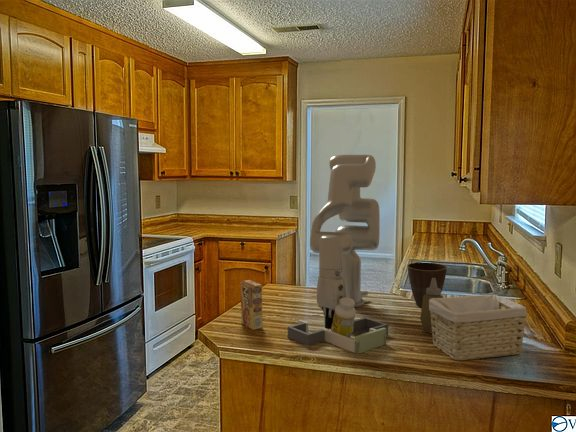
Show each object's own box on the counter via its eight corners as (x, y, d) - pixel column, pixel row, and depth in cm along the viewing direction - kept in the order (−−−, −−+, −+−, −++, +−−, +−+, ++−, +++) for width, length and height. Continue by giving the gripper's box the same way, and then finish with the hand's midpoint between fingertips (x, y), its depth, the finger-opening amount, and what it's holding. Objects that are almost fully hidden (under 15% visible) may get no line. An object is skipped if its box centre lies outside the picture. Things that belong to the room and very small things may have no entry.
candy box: (263, 328, 168) (262, 284, 166) (252, 330, 166) (252, 286, 164) (250, 321, 175) (250, 279, 174) (240, 323, 173) (239, 281, 171)
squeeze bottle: (445, 328, 167) (446, 276, 165) (444, 336, 159) (446, 281, 157) (420, 325, 170) (422, 274, 168) (419, 333, 162) (420, 280, 160)
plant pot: (440, 313, 183) (441, 271, 182) (401, 307, 191) (402, 267, 189) (449, 304, 196) (451, 264, 194) (413, 298, 204) (414, 261, 202)
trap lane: (340, 318, 178) (340, 305, 177) (400, 338, 157) (400, 323, 156) (282, 334, 161) (281, 320, 161) (340, 359, 140) (340, 343, 140)
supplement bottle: (329, 327, 161) (335, 294, 156) (348, 328, 162) (355, 296, 156) (331, 340, 155) (338, 306, 150) (352, 341, 155) (359, 308, 150)
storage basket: (452, 363, 138) (453, 312, 136) (425, 343, 153) (426, 297, 152) (527, 356, 142) (530, 307, 141) (494, 337, 158) (495, 293, 156)
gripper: (355, 275, 156) (354, 331, 157) (324, 268, 168) (323, 320, 169) (337, 278, 151) (337, 336, 153) (307, 270, 163) (307, 324, 165)
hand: (330, 328), depth 161 cm, fingers closed
